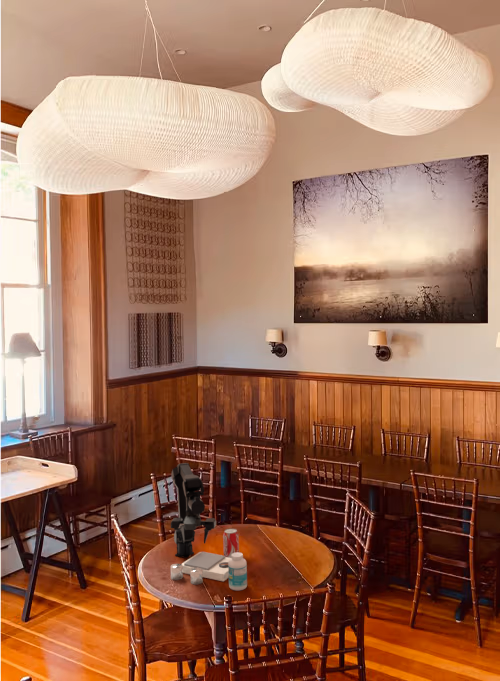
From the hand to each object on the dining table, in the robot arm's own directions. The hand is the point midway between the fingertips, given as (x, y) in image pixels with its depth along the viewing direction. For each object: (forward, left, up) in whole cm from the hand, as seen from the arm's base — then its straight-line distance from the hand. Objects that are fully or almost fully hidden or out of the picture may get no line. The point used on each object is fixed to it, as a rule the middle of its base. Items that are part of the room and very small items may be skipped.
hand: (194, 542), depth 260 cm
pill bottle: (+23, -3, -14) cm, 27 cm away
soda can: (+5, +23, -14) cm, 27 cm away
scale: (+4, +7, -13) cm, 15 cm away
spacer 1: (-5, -6, -14) cm, 16 cm away
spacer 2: (+5, -6, -14) cm, 16 cm away
